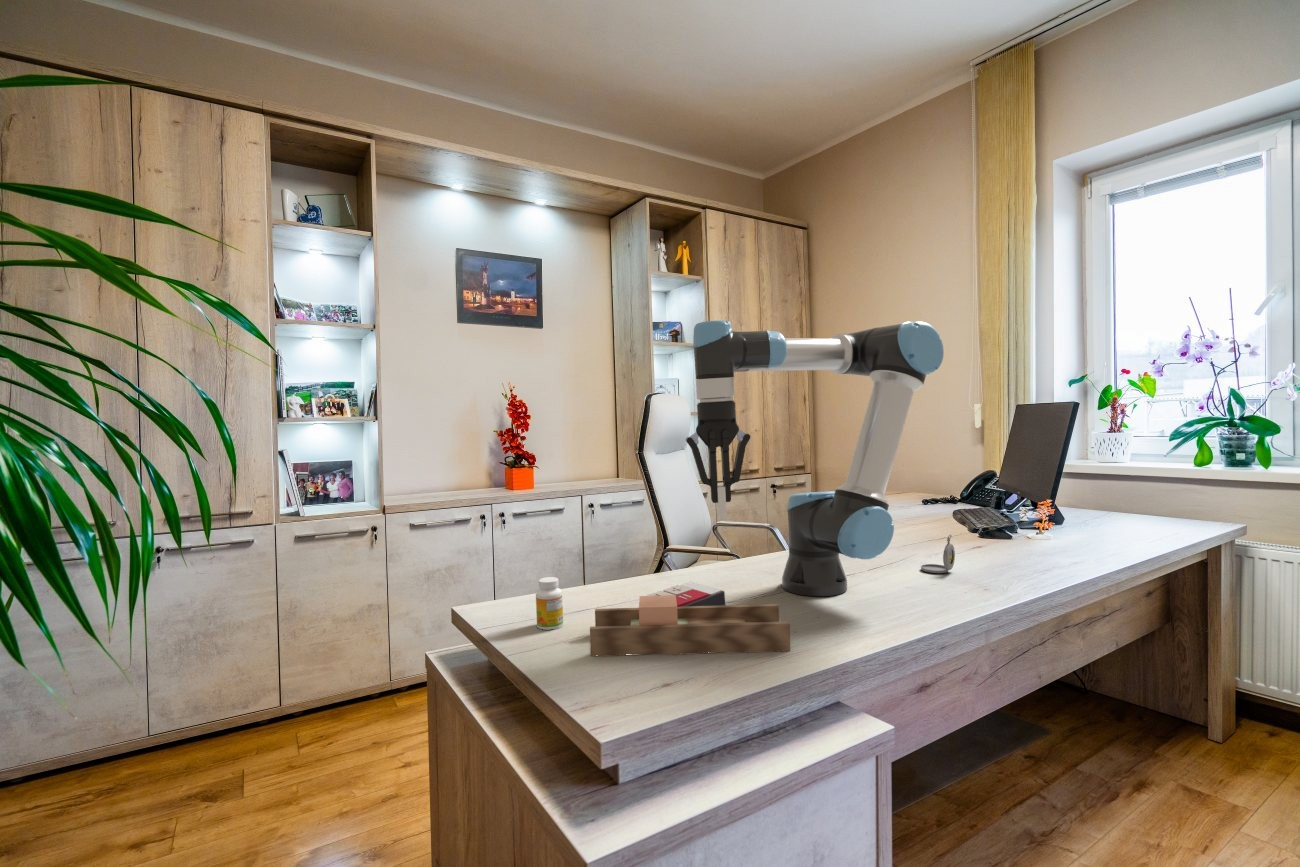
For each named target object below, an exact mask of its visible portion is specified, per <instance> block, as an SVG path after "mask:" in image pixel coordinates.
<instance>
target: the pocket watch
mask: <svg viewBox="0 0 1300 867" xmlns="http://www.w3.org/2000/svg"><path fill="white" fill-rule="evenodd" d="M951 538H952V534H949V535H948V536H947V539H946V541H947V543H946V545H945V547H944V549H943V553H942V554H943V556H942V559H943V560H942V561H943V562H942V563H943V565H942V564H935V563H928V564H921V565H920V569H921V570H922V571H923V572H926V573H931V574H932V573H933V574H944V573H948V572H949V571H950V570H953V567H954V565H955V558H956V551H955V546H954V544H952V543H950V541H951Z"/></svg>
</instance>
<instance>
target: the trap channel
mask: <svg viewBox="0 0 1300 867" xmlns="http://www.w3.org/2000/svg"><path fill="white" fill-rule="evenodd" d="M677 619H678V624H672V625H639V607H621V608H620V607H619V608H618V607H617V608H616V607H614V608H613V607H612V608H595V609H594V625H595V626H590V627H589V645H590V646H589V647H590V657H602V656H601V655H620V656H627V655H626V654H658V655H687V654H686V653H697V654H709V653H708V652H735V653H766V652H767V653H768V652H769V653H771V652H791V623H790V622H789V621H787V620H786V621H780V607H779V604H778V603H768V604H765V603H763V604H759V603H758V604H731V605H730V604H729V605H727V604H725V605H721V606H684V607H677ZM680 653H682V654H680ZM596 655H598V656H596Z"/></svg>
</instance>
